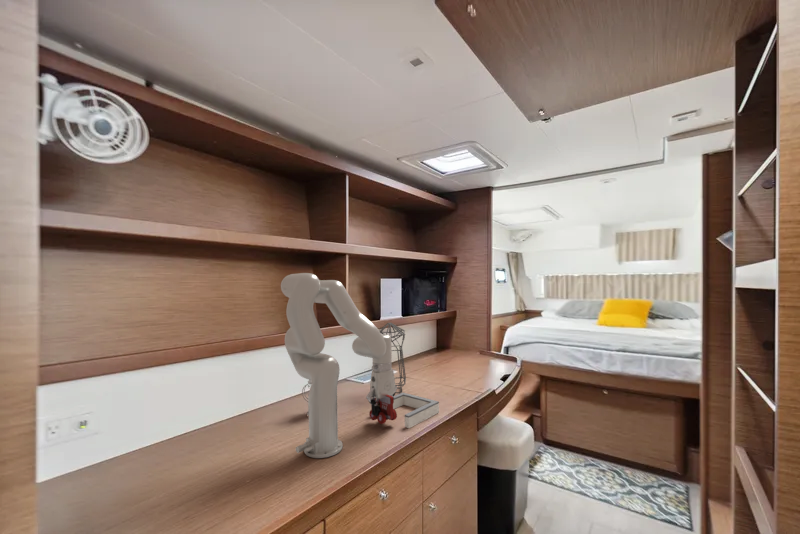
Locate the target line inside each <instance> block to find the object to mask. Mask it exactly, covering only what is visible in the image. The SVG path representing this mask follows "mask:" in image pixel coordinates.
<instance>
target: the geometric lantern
mask: <svg viewBox="0 0 800 534" xmlns="http://www.w3.org/2000/svg"><path fill="white" fill-rule="evenodd" d="M386 328H387V330H386V331H384V330H385V329H386ZM392 330H393V331H392ZM379 331H380V333H381V334H385V335H389V336H390V337H391V344H392V345H391V348H392V347H394V348H395V349H393V350H392V349H391V352H396V353H397V363H398V369H399V370H398V371H399V376H397V377H394V378H395V380H396V379H399V382H397V383H396V382H395V386H397V390H399V391H396V392H395V394H400V393H403V387H404V386H405V385H406V382H407V377H406V367H405V360H404V354H403V353H404V352H403V346H404V345H403V344H404V341H405V336H406V333H405V332H406V330H405V329H403V328H401V327H400V326H397V325H396V324H395V323H393V322H387V323H386V324H385V325H383V326H382V327H381V328H380V329H379ZM392 334H394V335H392ZM401 337H402V340H401V345H400V343H399V341H398V339H399V338H401ZM392 339H393V340H392ZM395 341H396V342H397V344H398V346H397V345H396V344H395V343H394V342H395ZM398 347H399V349H398ZM402 379H403V380H402Z"/></svg>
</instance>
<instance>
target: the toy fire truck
mask: <svg viewBox="0 0 800 534" xmlns="http://www.w3.org/2000/svg"><path fill="white" fill-rule="evenodd" d="M374 401H376V398H375V400H374ZM393 403H394V399H393V397H392V396H390V395H386V396H385V398H382V399H379V402H378V405H379V416H374V415H372V405H371V404H370V406H371V409H370V410H369V417H370V419H371V420H372V421H377V422H378V423H379V424H380V425H383V424H385V423H386V422H387V420H389V421H395V420H396V419H397V417H398V416H397V415H398V414H397V411H396V410H395V409H393Z"/></svg>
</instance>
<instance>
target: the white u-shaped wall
mask: <svg viewBox="0 0 800 534" xmlns="http://www.w3.org/2000/svg"><path fill="white" fill-rule="evenodd" d="M439 403H440V401H437V400H436V399H435V400H434V399H431V398H426V397H423V396H422V397H421V396H419V395H415V394H410V393H406V392H401V393H397V394H395V395H394V403H393V409H394V410H395V409H397V408H400V407H402V406H407V407H410V408H414V410H412V411H410V412H407V413H405V414H404V427H405V428H407V429H410V428H412V427H414V426H416V425H419V424H420V423H423V422H424V421H426V420H427V419H429V418H432V417H433V416H436V415H438V414H439V413H440V404H439Z"/></svg>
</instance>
